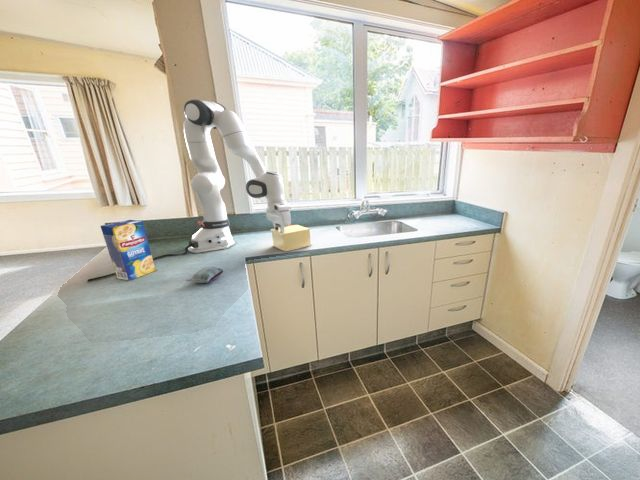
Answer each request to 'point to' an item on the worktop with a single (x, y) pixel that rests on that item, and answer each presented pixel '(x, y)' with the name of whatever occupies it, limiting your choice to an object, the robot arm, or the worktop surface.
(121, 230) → the beverage box
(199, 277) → the packaged food
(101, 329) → the worktop surface
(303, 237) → the yellow open box
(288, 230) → the lid
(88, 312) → the worktop surface
